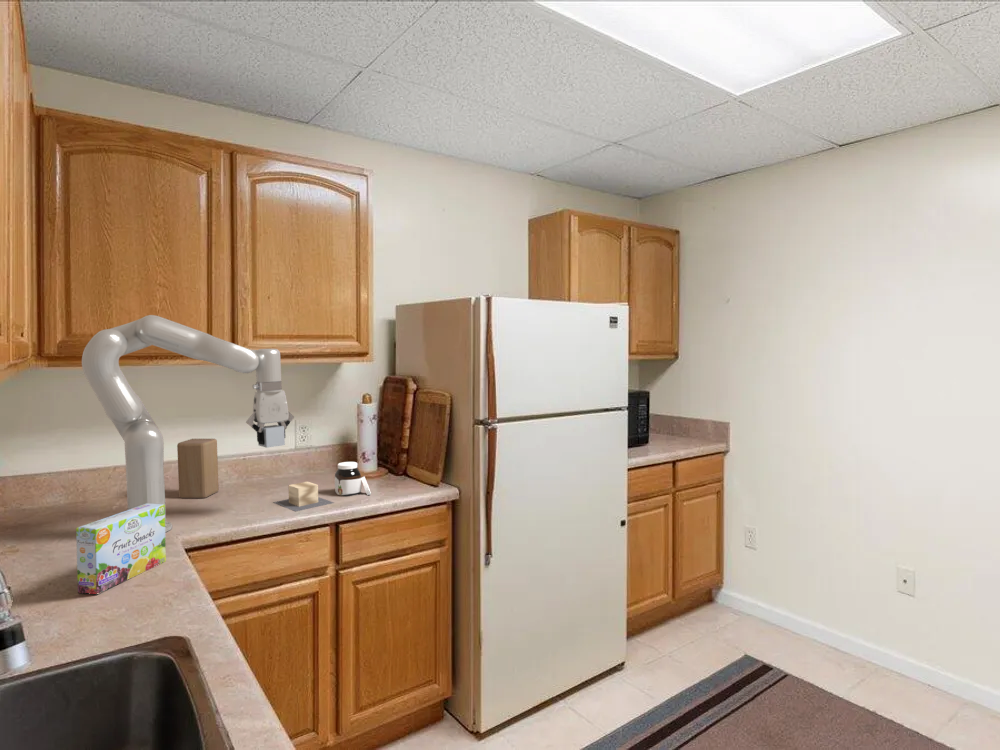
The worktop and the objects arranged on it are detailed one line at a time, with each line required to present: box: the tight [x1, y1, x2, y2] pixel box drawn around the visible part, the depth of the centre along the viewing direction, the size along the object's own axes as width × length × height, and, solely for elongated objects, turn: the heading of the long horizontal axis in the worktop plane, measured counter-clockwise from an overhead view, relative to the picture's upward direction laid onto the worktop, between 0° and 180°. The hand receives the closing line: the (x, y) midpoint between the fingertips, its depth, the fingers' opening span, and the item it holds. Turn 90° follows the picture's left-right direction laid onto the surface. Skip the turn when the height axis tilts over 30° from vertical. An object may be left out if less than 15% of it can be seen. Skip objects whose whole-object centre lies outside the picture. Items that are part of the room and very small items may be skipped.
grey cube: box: [257, 424, 286, 449], centre depth 195 cm, size 6×6×6 cm
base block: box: [287, 481, 319, 506], centre depth 204 cm, size 7×7×6 cm
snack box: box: [75, 503, 167, 595], centre depth 143 cm, size 21×6×15 cm, turn 170°
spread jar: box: [334, 461, 372, 497], centre depth 216 cm, size 12×11×12 cm
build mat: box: [272, 496, 335, 512], centre depth 204 cm, size 14×16×1 cm
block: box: [176, 438, 220, 499], centre depth 218 cm, size 10×10×20 cm
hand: (271, 442), depth 195 cm, fingers closed on grey cube, 6 cm apart
